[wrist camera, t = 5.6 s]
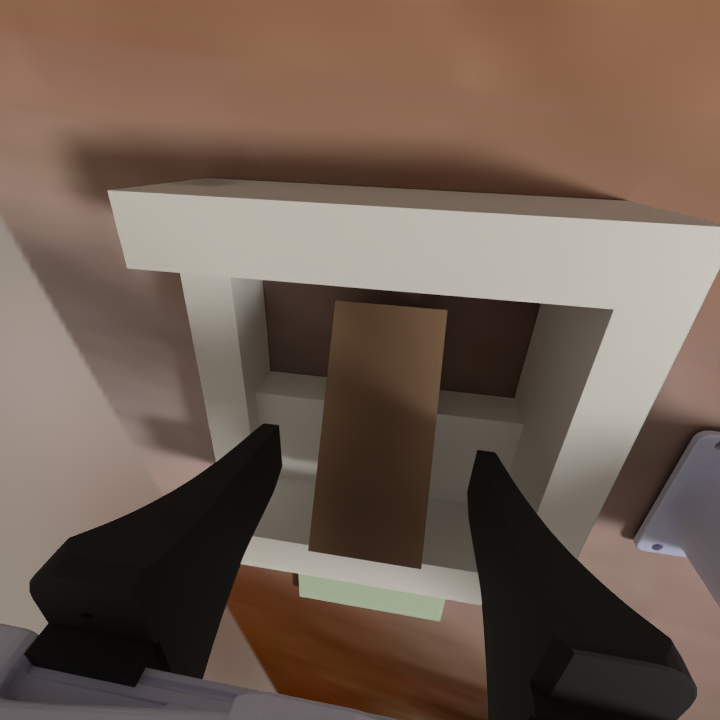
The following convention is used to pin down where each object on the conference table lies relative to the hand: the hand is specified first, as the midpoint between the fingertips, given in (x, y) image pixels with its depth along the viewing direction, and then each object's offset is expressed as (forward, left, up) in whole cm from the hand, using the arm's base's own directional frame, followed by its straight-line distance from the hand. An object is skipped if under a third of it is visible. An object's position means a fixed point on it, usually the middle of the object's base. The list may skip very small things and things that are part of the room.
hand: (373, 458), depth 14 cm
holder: (0, 0, -6) cm, 6 cm away
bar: (0, +1, -3) cm, 3 cm away
